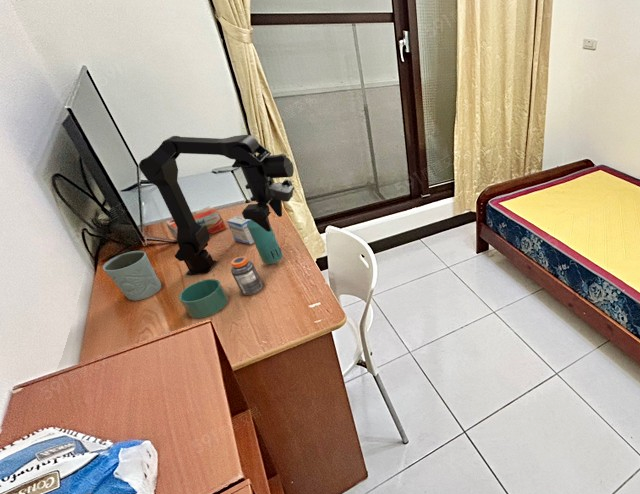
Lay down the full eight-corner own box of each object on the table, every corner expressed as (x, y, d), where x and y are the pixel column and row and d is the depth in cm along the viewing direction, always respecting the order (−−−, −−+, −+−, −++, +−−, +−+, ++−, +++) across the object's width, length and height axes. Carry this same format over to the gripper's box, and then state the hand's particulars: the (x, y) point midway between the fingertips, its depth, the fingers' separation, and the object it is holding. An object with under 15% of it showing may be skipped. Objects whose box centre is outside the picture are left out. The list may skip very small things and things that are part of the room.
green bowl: (181, 319, 113) (171, 303, 109) (200, 296, 121) (191, 280, 118) (218, 316, 113) (209, 300, 110) (234, 293, 122) (226, 277, 118)
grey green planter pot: (132, 306, 118) (109, 274, 112) (118, 295, 123) (96, 264, 116) (170, 287, 125) (151, 256, 119) (156, 277, 130) (137, 246, 124)
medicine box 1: (218, 222, 159) (210, 205, 155) (227, 228, 155) (218, 210, 150) (175, 240, 149) (164, 221, 145) (182, 247, 145) (172, 228, 140)
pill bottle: (247, 284, 125) (232, 254, 119) (266, 282, 125) (253, 253, 119) (238, 296, 120) (222, 266, 114) (258, 295, 120) (244, 265, 114)
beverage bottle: (276, 268, 131) (254, 216, 121) (259, 266, 133) (235, 214, 122) (289, 257, 137) (268, 205, 126) (272, 255, 138) (250, 204, 127)
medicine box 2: (235, 241, 147) (225, 221, 142) (245, 235, 150) (236, 215, 146) (250, 245, 144) (241, 224, 140) (260, 238, 148) (252, 218, 143)
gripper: (273, 190, 111) (291, 237, 120) (295, 164, 127) (309, 207, 136) (231, 193, 111) (252, 240, 119) (259, 167, 126) (276, 210, 135)
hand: (275, 223), depth 127 cm, fingers open, 9 cm apart
